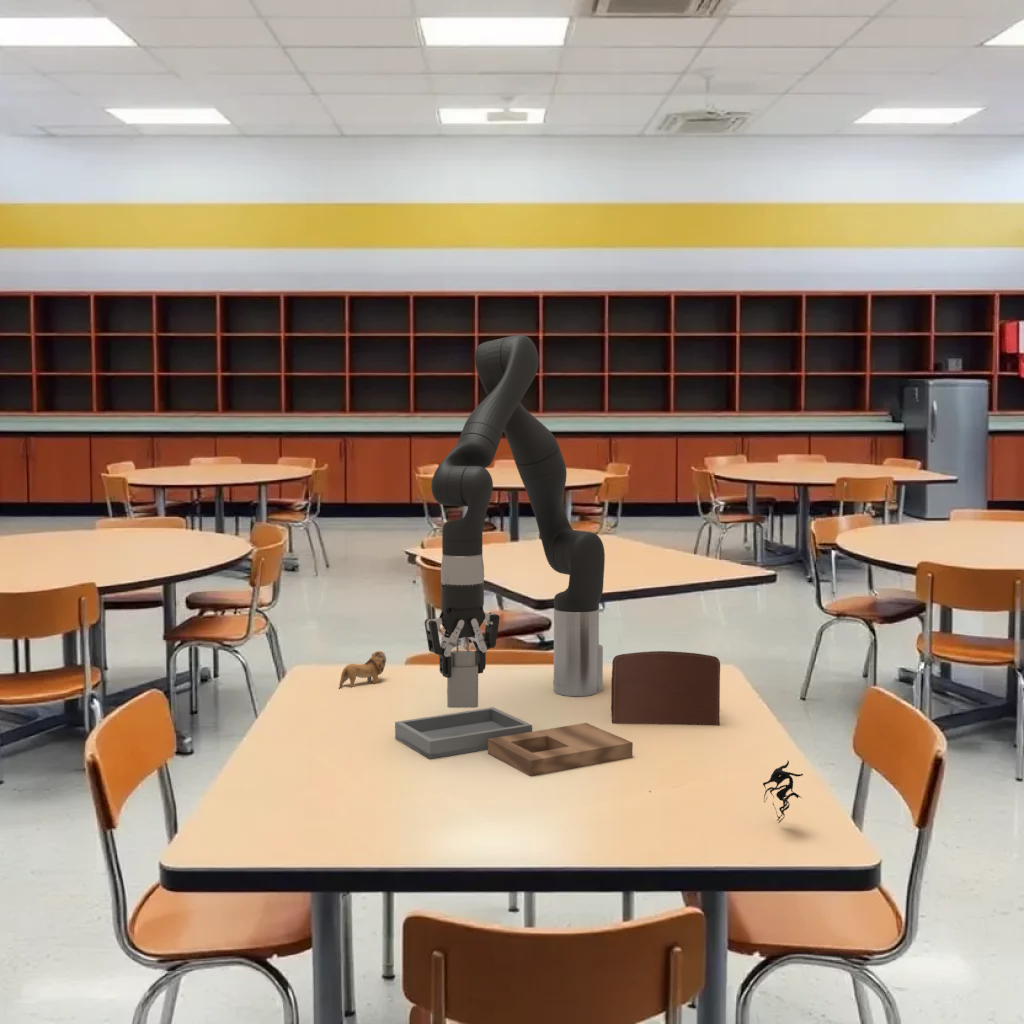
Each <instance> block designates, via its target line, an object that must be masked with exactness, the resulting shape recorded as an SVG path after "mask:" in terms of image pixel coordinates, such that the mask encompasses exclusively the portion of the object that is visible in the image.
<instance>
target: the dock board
mask: <svg viewBox="0 0 1024 1024" xmlns="http://www.w3.org/2000/svg"><path fill="white" fill-rule="evenodd" d="M487 754H488V755H491V756H492V757H494V758H496V759H498V760H500V761H502V762H504V763H505V764H507V765H509V766H511V767H513V768H515V769H517V770H518V771H519V772H522V773H524V774H526V775H528V776H529V777H533V776H538V775H543V774H549V773H555V772H559V771H565V770H570V769H575V768H580V767H581V768H582V767H586V766H593V765H597V764H603V763H607V762H608V763H609V762H613V761H617V760H624V759H628V758H629V759H630V758H633V741H630V740H628V739H626V738H623V737H621V736H618V735H616V734H613V733H611V732H609V731H607V730H605V729H602V728H599V727H597V726H594V725H592V724H590V723H587V722H582V723H576V724H571V725H565V726H558V727H552V728H546V729H541V730H539V729H538V730H532V732H527V733H521V734H515V735H509V736H503V737H496V738H490V739H488V749H487Z"/></svg>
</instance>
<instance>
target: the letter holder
mask: <svg viewBox="0 0 1024 1024" xmlns="http://www.w3.org/2000/svg"><path fill="white" fill-rule="evenodd" d="M610 681H611V688H610V689H611V694H610V695H611V697H610V698H611V701H610V703H611V704H610V705H611V706H610V711H611V712H610V713H611V724H613V725H614V724H617V725H620V724H621V725H660V726H661V725H663V726H664V725H668V726H669V725H670V726H671V725H672V726H713V727H715V726H720V724H721V723H720V721H721V720H720V717H721V716H720V713H721V712H720V711H721V710H720V709H721V708H720V707H721V706H720V704H721V703H720V702H721V700H720V698H721V694H720V693H721V692H720V691H721V661H720V659H719V658H718V657H717V656H714V655H710V654H703V653H697V652H696V653H695V652H686V651H685V652H684V651H674V650H673V651H670V650H667V651H665V650H663V651H662V650H656V651H655V650H654V651H641V652H639V651H637V652H630V653H629V652H628V653H622V654H618V655H615V656H614V657H613V659H612V669H611V680H610Z"/></svg>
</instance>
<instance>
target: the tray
mask: <svg viewBox="0 0 1024 1024" xmlns="http://www.w3.org/2000/svg"><path fill="white" fill-rule="evenodd" d="M394 727H395V728H394V729H395V730H394V732H395V733H394V735H395V736H394V738H395V739H396V740H397V741H399V742H401V743H403V744H404V745H405V746H407V747H409V748H411V749H412V750H414V751H415V752H417V753H418V754H421V755H422V756H424V757H425V758H426V759H429V760H432V759H433V760H434V759H439V758H444V757H445V758H446V757H450V756H457V755H461V754H469V753H473V752H474V753H475V752H479V751H486V750H487V751H488V739H490V738H496V737H503V736H509V735H515V734H521V733H527V732H533V724H531V723H529V722H526V721H525V720H522V719H520V718H517V717H516V716H514V715H512V714H509V713H507V712H505V711H503V710H500V709H498V708H496V707H494V706H493V707H486V708H479V709H472V710H467V711H460V712H452V713H447V714H446V713H445V714H439V715H433V716H426V717H425V716H424V717H418V718H411V719H406V720H400V721H399V720H398V721H394Z"/></svg>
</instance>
